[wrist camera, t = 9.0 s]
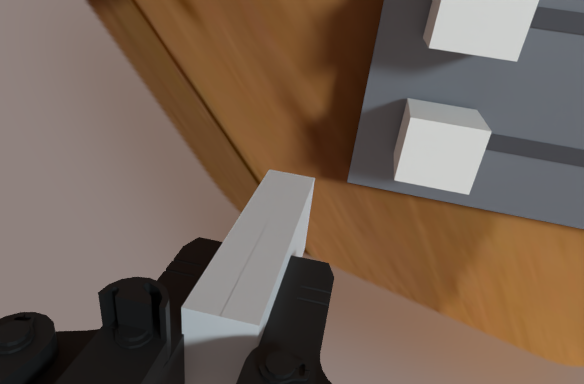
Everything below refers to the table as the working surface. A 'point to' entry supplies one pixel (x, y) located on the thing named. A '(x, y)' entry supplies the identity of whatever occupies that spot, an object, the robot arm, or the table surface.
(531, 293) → the table surface
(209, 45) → the table surface
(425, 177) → the tab
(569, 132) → the switch panel
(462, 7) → the tab middle
